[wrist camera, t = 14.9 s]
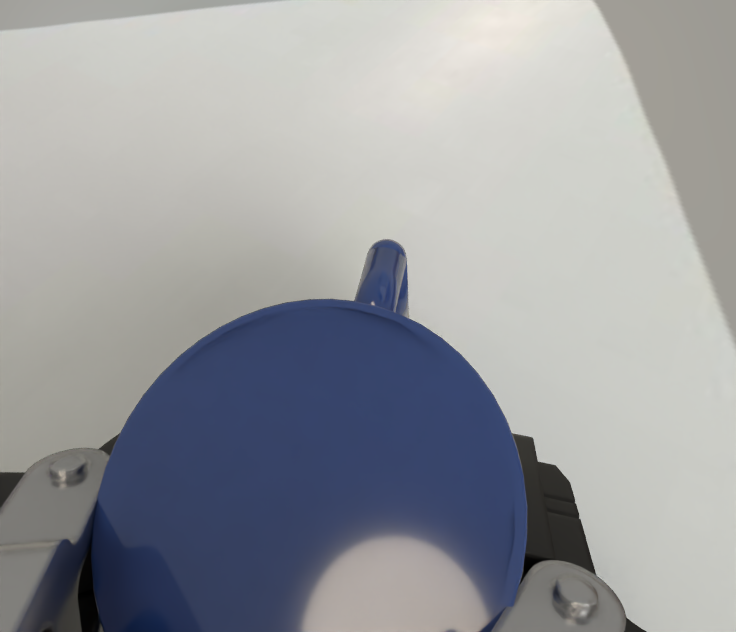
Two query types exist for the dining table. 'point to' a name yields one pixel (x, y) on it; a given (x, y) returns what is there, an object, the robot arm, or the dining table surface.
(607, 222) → the dining table surface
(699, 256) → the dining table surface
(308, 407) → the blue coffee mug
